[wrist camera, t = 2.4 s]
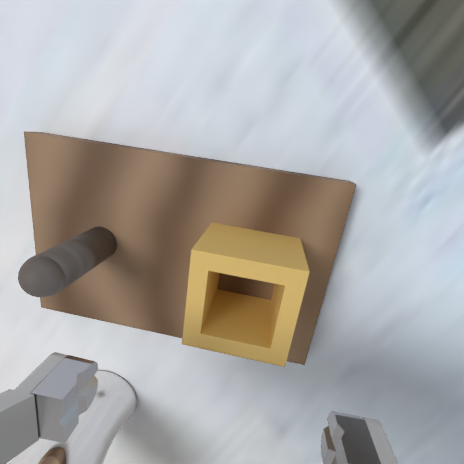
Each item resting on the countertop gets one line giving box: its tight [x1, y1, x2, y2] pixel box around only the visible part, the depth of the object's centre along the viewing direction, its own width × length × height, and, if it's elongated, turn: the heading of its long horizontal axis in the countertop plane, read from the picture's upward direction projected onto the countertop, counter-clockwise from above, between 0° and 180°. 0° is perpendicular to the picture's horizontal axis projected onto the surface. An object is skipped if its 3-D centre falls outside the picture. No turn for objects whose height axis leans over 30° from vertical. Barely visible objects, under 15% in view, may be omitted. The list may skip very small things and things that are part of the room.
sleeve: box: [182, 223, 310, 367], centre depth 17 cm, size 6×6×5 cm
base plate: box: [18, 132, 356, 365], centre depth 18 cm, size 22×14×8 cm, turn 82°
